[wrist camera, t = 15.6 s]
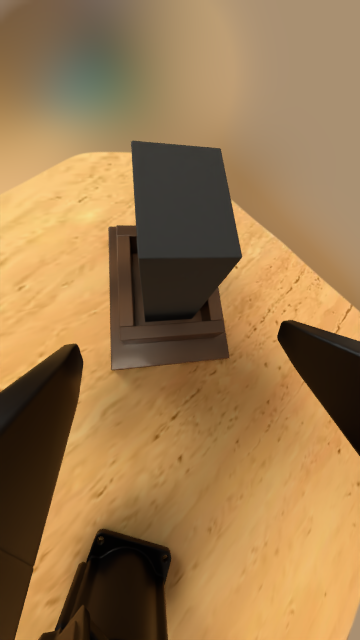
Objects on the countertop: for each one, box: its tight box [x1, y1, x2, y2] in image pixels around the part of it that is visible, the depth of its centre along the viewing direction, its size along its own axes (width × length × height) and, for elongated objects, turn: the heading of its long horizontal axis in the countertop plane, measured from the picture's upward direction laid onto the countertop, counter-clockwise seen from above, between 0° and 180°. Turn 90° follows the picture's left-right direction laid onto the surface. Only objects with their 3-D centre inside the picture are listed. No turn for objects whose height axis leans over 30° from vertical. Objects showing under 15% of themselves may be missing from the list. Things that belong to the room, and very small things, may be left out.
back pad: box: [131, 141, 242, 322], centre depth 16 cm, size 7×5×12 cm
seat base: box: [109, 226, 229, 370], centre depth 20 cm, size 16×12×4 cm
